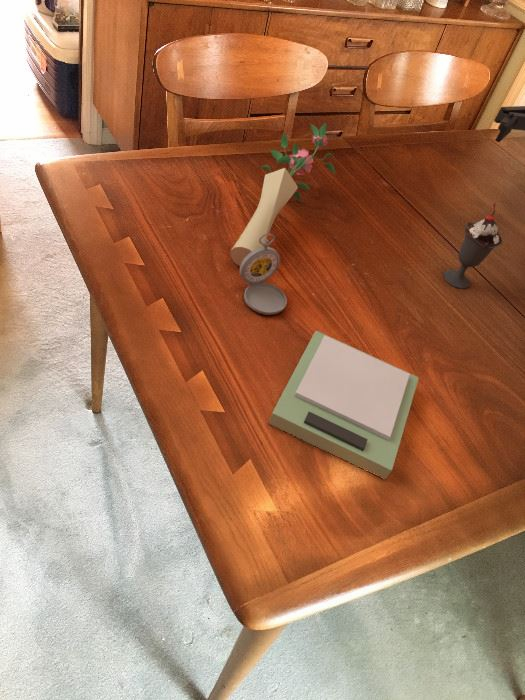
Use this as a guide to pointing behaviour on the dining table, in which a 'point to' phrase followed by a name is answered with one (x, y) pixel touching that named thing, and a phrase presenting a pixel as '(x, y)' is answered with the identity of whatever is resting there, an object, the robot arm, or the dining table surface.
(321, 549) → the dining table surface
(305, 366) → the scale
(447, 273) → the sundae
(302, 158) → the flower vase
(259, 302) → the pocket watch
